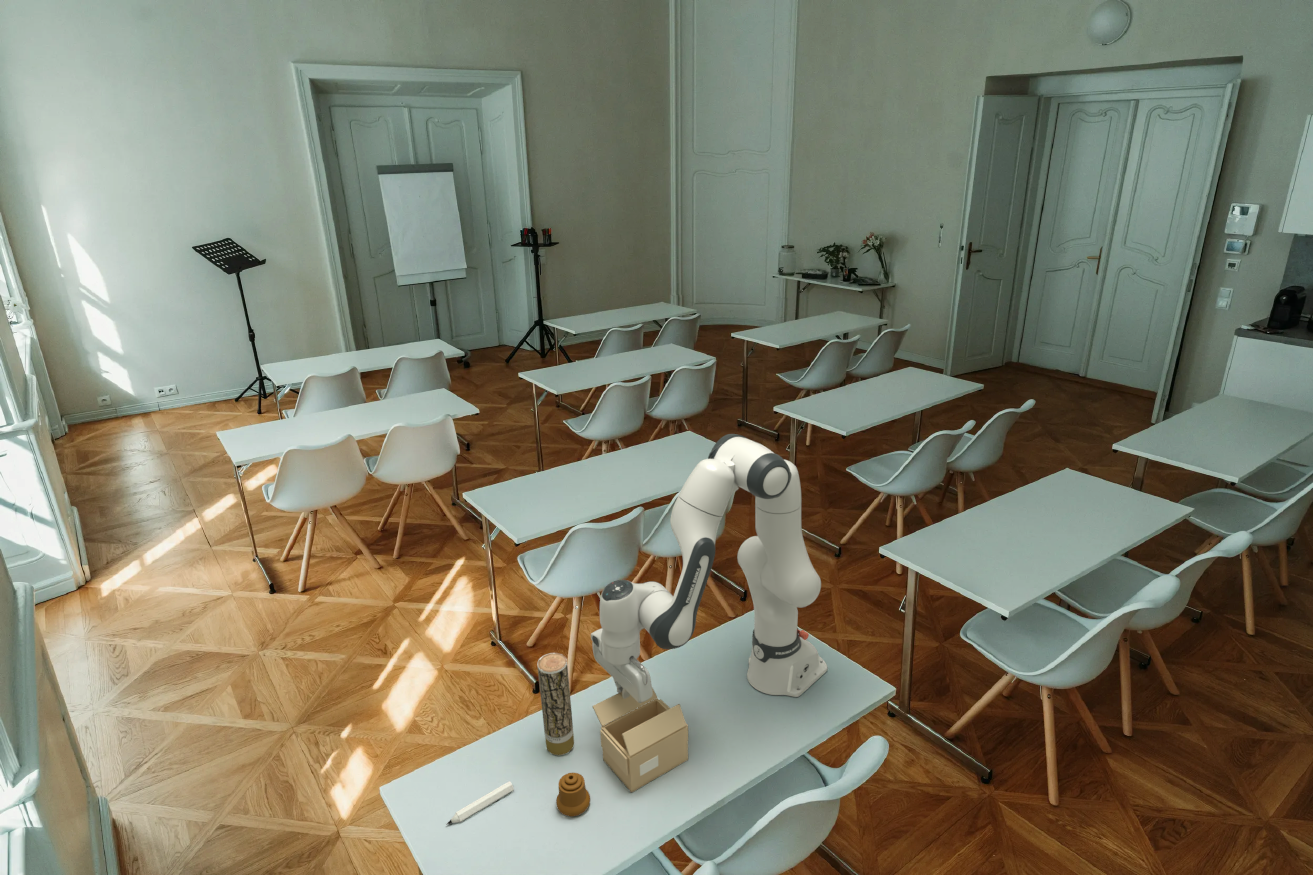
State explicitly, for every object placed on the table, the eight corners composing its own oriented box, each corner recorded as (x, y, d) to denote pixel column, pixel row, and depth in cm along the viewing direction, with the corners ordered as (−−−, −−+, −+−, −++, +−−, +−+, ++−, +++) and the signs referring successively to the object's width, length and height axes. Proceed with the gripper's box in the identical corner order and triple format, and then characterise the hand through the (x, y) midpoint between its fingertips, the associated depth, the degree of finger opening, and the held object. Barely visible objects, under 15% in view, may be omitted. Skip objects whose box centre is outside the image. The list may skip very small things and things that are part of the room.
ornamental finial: (569, 824, 166) (550, 804, 171) (597, 805, 171) (577, 785, 176) (567, 797, 163) (547, 776, 168) (595, 777, 168) (574, 758, 173)
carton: (660, 729, 191) (659, 696, 187) (690, 758, 182) (689, 725, 178) (601, 761, 182) (598, 728, 178) (629, 794, 173) (627, 760, 169)
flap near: (630, 756, 170) (622, 734, 170) (629, 755, 170) (621, 733, 170) (686, 725, 178) (679, 704, 178) (685, 724, 178) (678, 703, 178)
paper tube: (569, 758, 183) (561, 673, 174) (542, 754, 184) (533, 670, 175) (578, 737, 189) (570, 654, 180) (551, 734, 191) (543, 651, 181)
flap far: (656, 698, 187) (647, 679, 189) (657, 697, 186) (647, 678, 188) (601, 726, 179) (592, 706, 180) (602, 725, 178) (592, 705, 180)
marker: (446, 830, 167) (511, 790, 176) (449, 832, 165) (515, 791, 174) (442, 818, 167) (507, 779, 176) (445, 820, 165) (511, 780, 174)
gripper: (658, 664, 172) (659, 713, 177) (609, 620, 187) (611, 667, 193) (634, 676, 168) (637, 725, 174) (586, 630, 184) (590, 677, 189)
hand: (623, 694), depth 183 cm, fingers closed
